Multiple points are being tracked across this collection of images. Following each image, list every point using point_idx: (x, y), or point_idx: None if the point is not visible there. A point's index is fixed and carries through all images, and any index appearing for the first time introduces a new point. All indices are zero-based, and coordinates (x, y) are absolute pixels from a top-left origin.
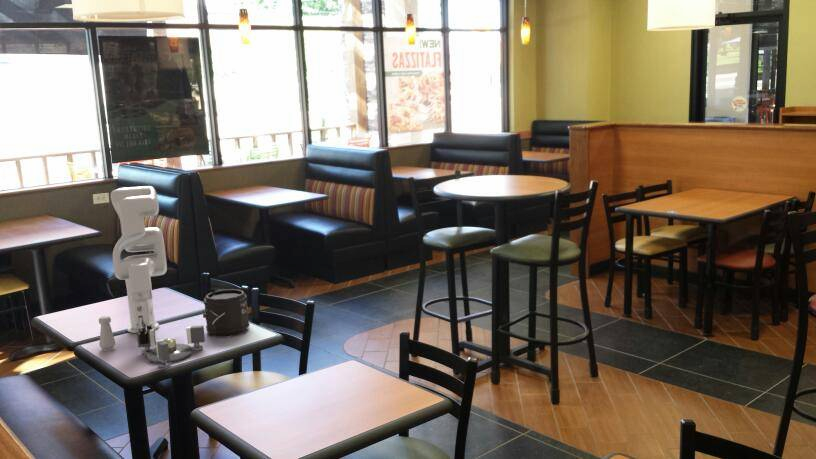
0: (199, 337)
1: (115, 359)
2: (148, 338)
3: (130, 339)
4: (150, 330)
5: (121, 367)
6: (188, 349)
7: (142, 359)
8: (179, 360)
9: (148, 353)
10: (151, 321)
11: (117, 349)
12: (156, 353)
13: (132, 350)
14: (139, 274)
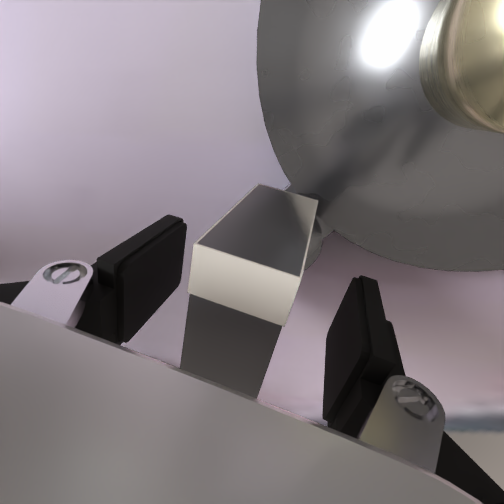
0: None
1: (297, 385)
2: (369, 304)
3: (17, 281)
4: (259, 306)
5: (474, 395)
6: None
7: (398, 278)
8: None
9: (424, 256)
10: (263, 474)
11: (145, 349)
12: (486, 192)
13: (184, 299)
14: None
